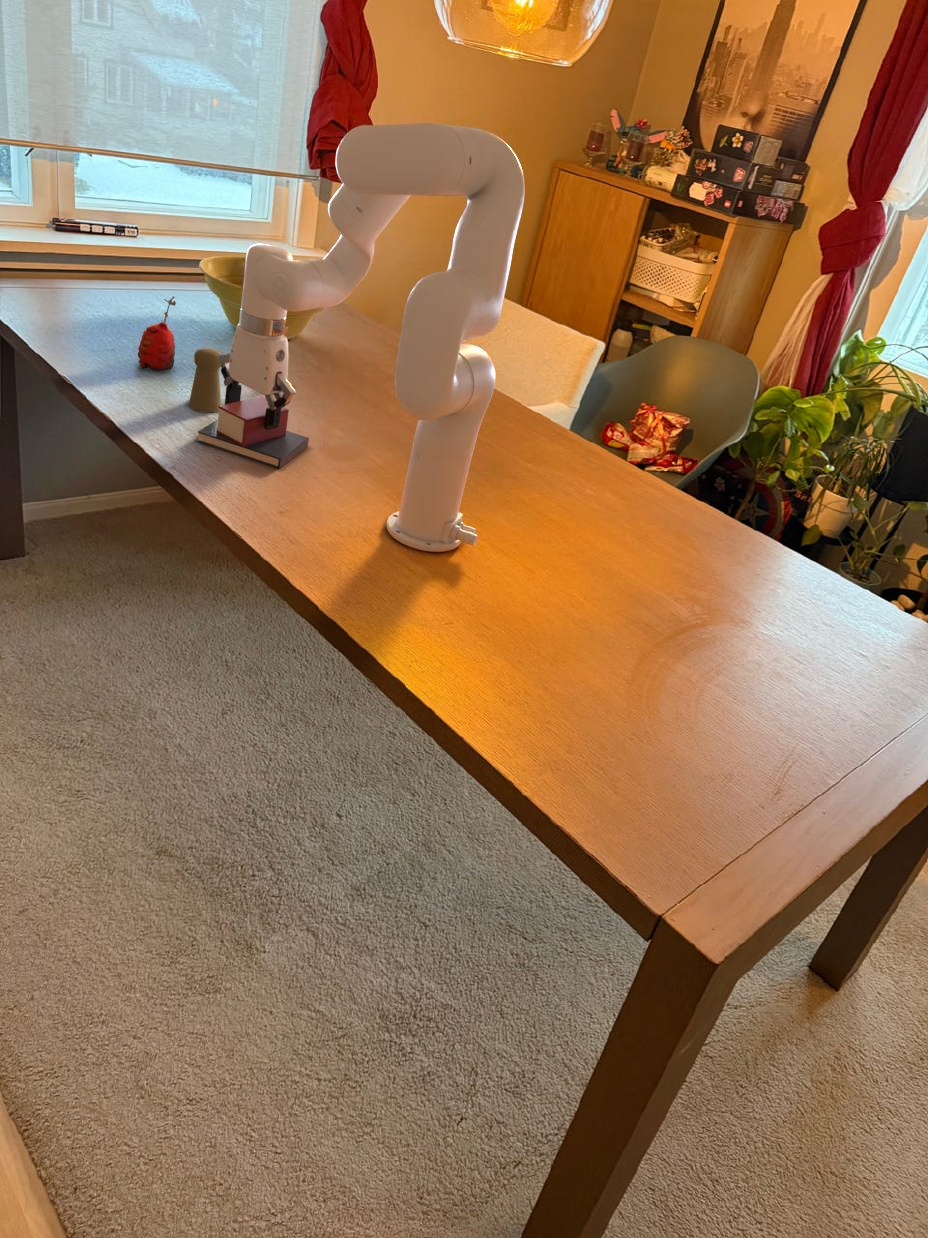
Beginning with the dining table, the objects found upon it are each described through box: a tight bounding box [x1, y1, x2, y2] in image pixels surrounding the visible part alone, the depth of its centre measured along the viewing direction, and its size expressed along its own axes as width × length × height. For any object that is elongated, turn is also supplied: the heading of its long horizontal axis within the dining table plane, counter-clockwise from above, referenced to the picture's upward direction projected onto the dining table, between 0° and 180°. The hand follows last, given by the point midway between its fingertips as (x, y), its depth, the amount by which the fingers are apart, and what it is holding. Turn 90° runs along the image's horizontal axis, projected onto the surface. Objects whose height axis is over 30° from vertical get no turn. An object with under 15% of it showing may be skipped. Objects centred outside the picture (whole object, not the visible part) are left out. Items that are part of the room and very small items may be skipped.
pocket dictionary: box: [217, 395, 290, 447], centre depth 163 cm, size 7×10×5 cm, turn 146°
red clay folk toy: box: [137, 296, 177, 372], centre depth 183 cm, size 8×7×15 cm
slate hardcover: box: [196, 419, 310, 469], centre depth 165 cm, size 16×12×2 cm
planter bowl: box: [198, 255, 325, 340], centre depth 218 cm, size 32×32×13 cm
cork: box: [188, 347, 222, 413], centre depth 173 cm, size 6×6×11 cm
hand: (251, 417), depth 163 cm, fingers open, 9 cm apart
